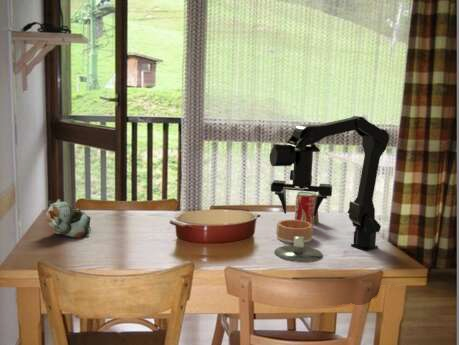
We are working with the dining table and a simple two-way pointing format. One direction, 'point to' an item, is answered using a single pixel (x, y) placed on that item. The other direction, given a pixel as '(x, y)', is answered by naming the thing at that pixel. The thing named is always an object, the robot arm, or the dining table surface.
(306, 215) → the soda can
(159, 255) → the dining table surface
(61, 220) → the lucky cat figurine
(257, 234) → the dining table surface
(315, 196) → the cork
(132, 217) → the dining table surface
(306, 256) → the lid
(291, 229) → the bowl
